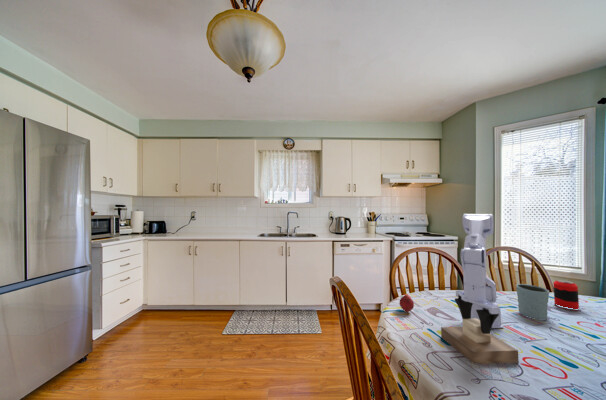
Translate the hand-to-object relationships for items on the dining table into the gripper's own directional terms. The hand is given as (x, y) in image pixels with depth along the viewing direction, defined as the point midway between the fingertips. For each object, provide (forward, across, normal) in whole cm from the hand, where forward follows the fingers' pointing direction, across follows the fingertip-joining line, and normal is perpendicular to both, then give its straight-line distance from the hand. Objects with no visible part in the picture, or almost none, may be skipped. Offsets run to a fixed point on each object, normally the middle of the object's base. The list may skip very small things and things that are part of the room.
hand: (475, 326), depth 73 cm
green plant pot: (+7, -22, +45) cm, 51 cm away
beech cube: (+3, 0, 0) cm, 4 cm away
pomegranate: (+7, -27, -9) cm, 29 cm away
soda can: (+7, -30, +71) cm, 77 cm away
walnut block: (+8, 0, 0) cm, 8 cm away
